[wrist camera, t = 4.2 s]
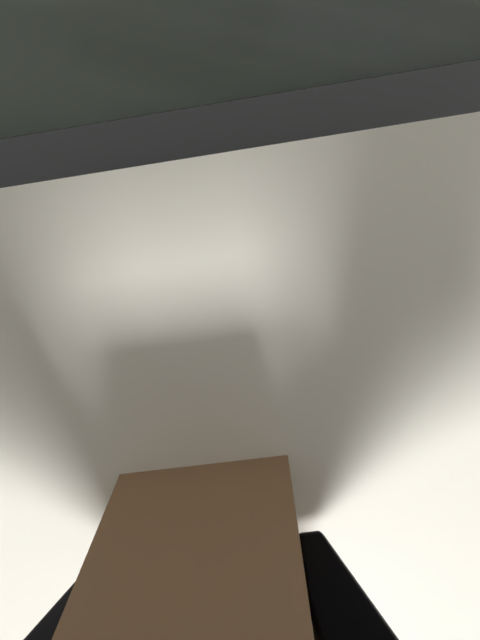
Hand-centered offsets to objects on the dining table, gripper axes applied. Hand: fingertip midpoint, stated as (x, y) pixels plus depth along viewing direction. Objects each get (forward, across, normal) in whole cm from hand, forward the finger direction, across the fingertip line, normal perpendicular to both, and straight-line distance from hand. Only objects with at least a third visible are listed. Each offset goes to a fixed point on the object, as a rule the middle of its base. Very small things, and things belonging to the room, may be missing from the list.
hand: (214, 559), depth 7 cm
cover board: (+1, 0, 0) cm, 1 cm away
